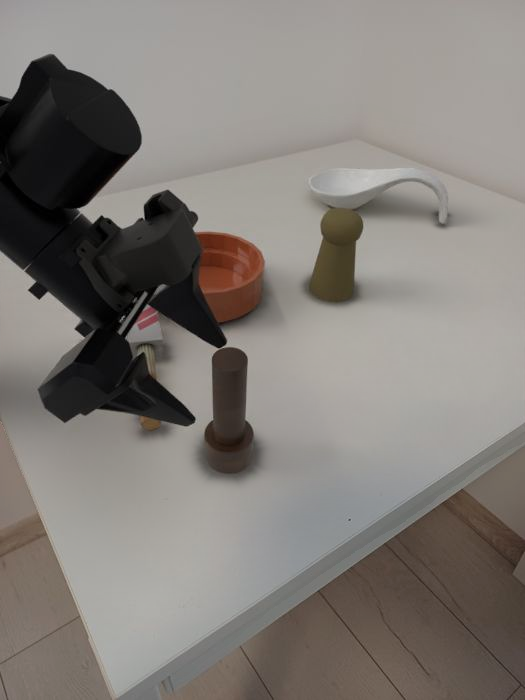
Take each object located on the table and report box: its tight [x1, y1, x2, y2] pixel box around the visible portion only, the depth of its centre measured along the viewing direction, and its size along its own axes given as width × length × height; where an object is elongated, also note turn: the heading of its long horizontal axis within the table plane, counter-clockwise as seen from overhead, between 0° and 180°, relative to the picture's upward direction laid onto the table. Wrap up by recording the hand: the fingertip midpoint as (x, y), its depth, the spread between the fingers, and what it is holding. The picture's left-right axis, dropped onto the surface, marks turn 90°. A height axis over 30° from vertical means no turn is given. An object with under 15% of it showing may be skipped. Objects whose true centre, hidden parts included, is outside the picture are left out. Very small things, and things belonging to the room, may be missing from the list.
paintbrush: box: [126, 300, 165, 431], centre depth 56 cm, size 4×3×20 cm
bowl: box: [194, 231, 266, 323], centre depth 65 cm, size 14×14×5 cm
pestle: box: [203, 346, 255, 474], centre depth 44 cm, size 4×4×12 cm
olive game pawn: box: [308, 208, 364, 303], centre depth 65 cm, size 6×6×11 cm
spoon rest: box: [307, 167, 449, 225], centre depth 86 cm, size 24×12×7 cm, turn 75°
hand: (209, 381), depth 42 cm, fingers open, 9 cm apart
